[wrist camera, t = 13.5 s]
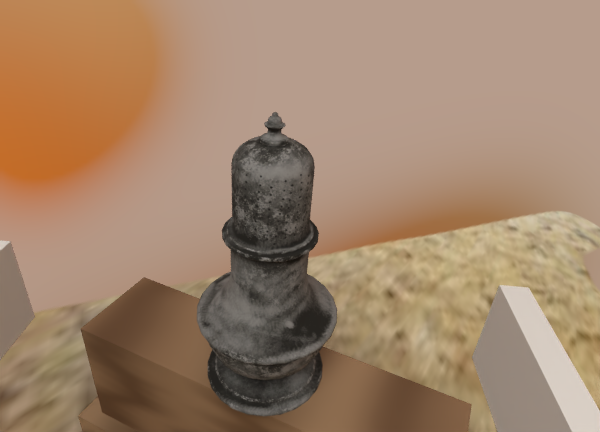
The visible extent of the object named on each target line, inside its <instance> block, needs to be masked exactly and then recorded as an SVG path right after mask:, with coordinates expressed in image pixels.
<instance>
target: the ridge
mask: <svg viewBox="0 0 600 432" xmlns="http://www.w3.org/2000/svg"><path fill="white" fill-rule="evenodd" d="M199 300H200V299H199V298H196V297H193V296H191V295H188V294H186V293H183V292H181V291H178V290H175V289H173V288H170V287H168V286H165V285H163V284H160V283H157V282H155V281H152V280H150V279H147V278H143V279H142V280H140V281H139V282H138V283H137V284H135V285H134V286H133V287H132V288H130V289H129V290H128V291H127V292H125V293H124V294H123V295H122V296H120V297H119V298H118V299H117V300H116V301H114V302H113V303H112V304H111V305H109V306H108V307H107V308H106V309H104V310H103V311H102V312H101V313H99V314H98V315H97V316H96V317H95V318H93V319H92V320H91V321H90V322H88V323H87V324H86V325H85V326H83V327H82V328H81V332H82V336H83V339H84V343H85V347H86V351H87V355H88V359H89V363H90V367H91V371H92V375H93V378H94V382H95V386H96V390H97V394H98V397H97V398H96V399H95V400H94V401H93V402H92V403H91V404H90V405H89V406H88V407H87V408H86V409H85V410H84V411H83V412H81V413H80V414H79V415H78V417H79V420H80V424H81V427H82V430H83V432H468V426H469V419H470V412H471V405H472V404H469V403H466V402H464V401H461V400H459V399H456V398H454V397H451V396H448V395H446V394H443V393H441V392H438V391H436V390H433V389H430V388H428V387H425V386H423V385H420V384H418V383H415V382H412V381H410V380H407V379H405V378H402V377H399V376H397V375H394V374H392V373H389V372H387V371H384V370H381V369H379V368H376V367H374V366H371V365H369V364H366V363H363V362H361V361H358V360H356V359H353V358H351V357H348V356H345V355H343V354H340V353H338V352H335V351H333V350H330V349H327V348H325V347H322V349H321V350H320V351H319V352H320V356H321V360H322V364H323V366H322V378H321V381H320V383H319V386H318V388H317V390H316V391H315V393H314V394H313V395H312V396H311V397H310V399H309V400H308V401H307V402H305V403H304V404H302V405H301V406H299V407H298V408H296V409H295V410H292V411H289V412H286V413H284V414H281V415H273V416H256V415H248V414H245V413H242V412H240V411H237V410H235V409H232V408H231V407H229V406H228V405H227V404H225V403H224V402H223V401H221V400H220V399H219V398H218V396H217V395H216V394H215V392H214V391H213V390H212V388H211V385H210V382H209V379H208V360H209V357H210V354H211V351H212V348H211V347H210V345H209V343H208V341H207V340H206V339H205V338H204V336H203V335H202V334H201V331H200V328H199V326H198V323H197V305H198V303H199Z"/></svg>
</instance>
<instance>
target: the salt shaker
mask: <svg viewBox="0 0 600 432" xmlns="http://www.w3.org/2000/svg"><path fill="white" fill-rule="evenodd" d="M264 124H265V126H266V127H267V128H268V133H265V134H263V135H262V136H259V137H255V138H253V139H250V140H248V141H246V142H245V143H243V144H242V145H241V146H240V147H239V148H238V149H237V150H236V152H235V154H234V155H233V159H232V217H231V218H230V219H229V220H228V221H227V222H226V223H225V225H224V227H223V229H222V237H223V240H224V242H225V244H226V246H228V247H229V248H230V249H231V272H229V273H226V274H224V275H223V276H221V277H220V278H218V279H217V280H215V281H214V282H212V283H211V284H210V285H209V287H208V288H207V289H206V290H205V291H204V292H203V294H202V296H201V298H200V300H199V303H198V305H197V323H198V326H199V328H200V331H201V334H202V335H203V336H204V338H205V339H206V340H207V341H208V343H209V345H210V347H211V348H212V351H211V354H210V357H209V360H208V379H209V382H210V385H211V388H212V390H213V391H214V392H215V394H216V395H217V396H218V398H219V399H220V400H221V401H223V402H224V403H225V404H227V405H228V406H229V407H231V408H232V409H235V410H237V411H240V412H242V413H245V414H248V415H256V416H273V415H281V414H284V413H286V412H289V411H292V410H295V409H296V408H298V407H299V406H301V405H302V404H304V403H305V402H307V401H308V400H309V399H310V397H311V396H312V395H313V394H314V393H315V391H316V390H317V388H318V386H319V383H320V381H321V378H322V366H323V364H322V360H321V356H320V352H319V351H320V350H321V349H322V346H323V345H324V344H325V342H326V341H327V340H328V339H329V338H330V337H331V335H332V333H333V330H334V328H335V326H336V322H337V308H336V305H335V302H334V299H333V297H332V295H331V294H330V293H329V291H328V290H327V289H326V287H325V286H324V285H322V284H321V283H320V282H319V281H317V280H316V279H315V278H314V277H312V276H310V275H308V274H307V265H308V255H309V251H310V250H312V249H313V248H314V247H315V245H316V244H317V242H318V234H319V233H318V230H317V227H316V226H315V225H314V223H313V222H312V221H311V220H310V211H311V200H312V189H313V178H314V160H313V157H312V155H311V154H310V152H309V151H308V149H307V148H306V147H305V146H304V145H302V144H301V143H299V142H297V141H296V140H294V139H291V138H288V137H287V136H286V135H284V134H281V129H282V128H283V127H285V123H283V122H282V119H281V117H279V116H278V113H276V112H274V113H273V114H272V116H270V117H269V119H268V121H267V122H265V123H264Z"/></svg>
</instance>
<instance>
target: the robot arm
mask: <svg viewBox="0 0 600 432" xmlns="http://www.w3.org/2000/svg"><path fill="white" fill-rule="evenodd" d="M34 317H35V316H34V312H33V309H32V307H31V303H30V300H29V297H28V294H27V291H26V288H25V285H24V282H23V278H22V275H21V273H20V269H19V267H18V263H17V260H16V257H15V254H14V251H13V247H12V244H11V242H10V241H1V240H0V360H1V358H2V357H3V356H4V355H5V353H6V352H7V351H8V350H9V349H10V347H11V346H12V345H13V344H14V342H15V341H16V340H17V339H18V337H19V336H20V335H21V334H22V332H23V331H24V330H25V329H26V327H27V326H28V325H29V324H30V322H31V321H32V320H33V319H34ZM472 359H473V361H474V364H475V367H476V370H477V373H478V376H479V379H480V382H481V385H482V388H483V391H484V394H485V397H486V400H487V403H488V405H489V408H490V411H491V414H492V417H493V420H494V423H495V426H496V429H497V432H600V411H599V409H598V407H597V405H596V404H595V402H594V400H593V398H592V397H591V395H590V393H589V391H588V390H587V388H586V386H585V385H584V383H583V381H582V379H581V378H580V376H579V374H578V372H577V371H576V369H575V367H574V365H573V364H572V362H571V360H570V359H569V357H568V355H567V353H566V352H565V350H564V348H563V346H562V345H561V343H560V341H559V340H558V338H557V336H556V334H555V333H554V331H553V329H552V327H551V326H550V324H549V322H548V320H547V319H546V317H545V315H544V314H543V312H542V310H541V308H540V307H539V305H538V303H537V301H536V300H535V298H534V296H533V294H532V293H531V291H530V289H529V288H527V287H516V286H505V285H499V287H498V290H497V293H496V295H495V298H494V301H493V303H492V306H491V309H490V311H489V314H488V317H487V319H486V322H485V324H484V327H483V330H482V332H481V335H480V338H479V340H478V343H477V346H476V348H475V351H474V354H473V356H472Z"/></svg>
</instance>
